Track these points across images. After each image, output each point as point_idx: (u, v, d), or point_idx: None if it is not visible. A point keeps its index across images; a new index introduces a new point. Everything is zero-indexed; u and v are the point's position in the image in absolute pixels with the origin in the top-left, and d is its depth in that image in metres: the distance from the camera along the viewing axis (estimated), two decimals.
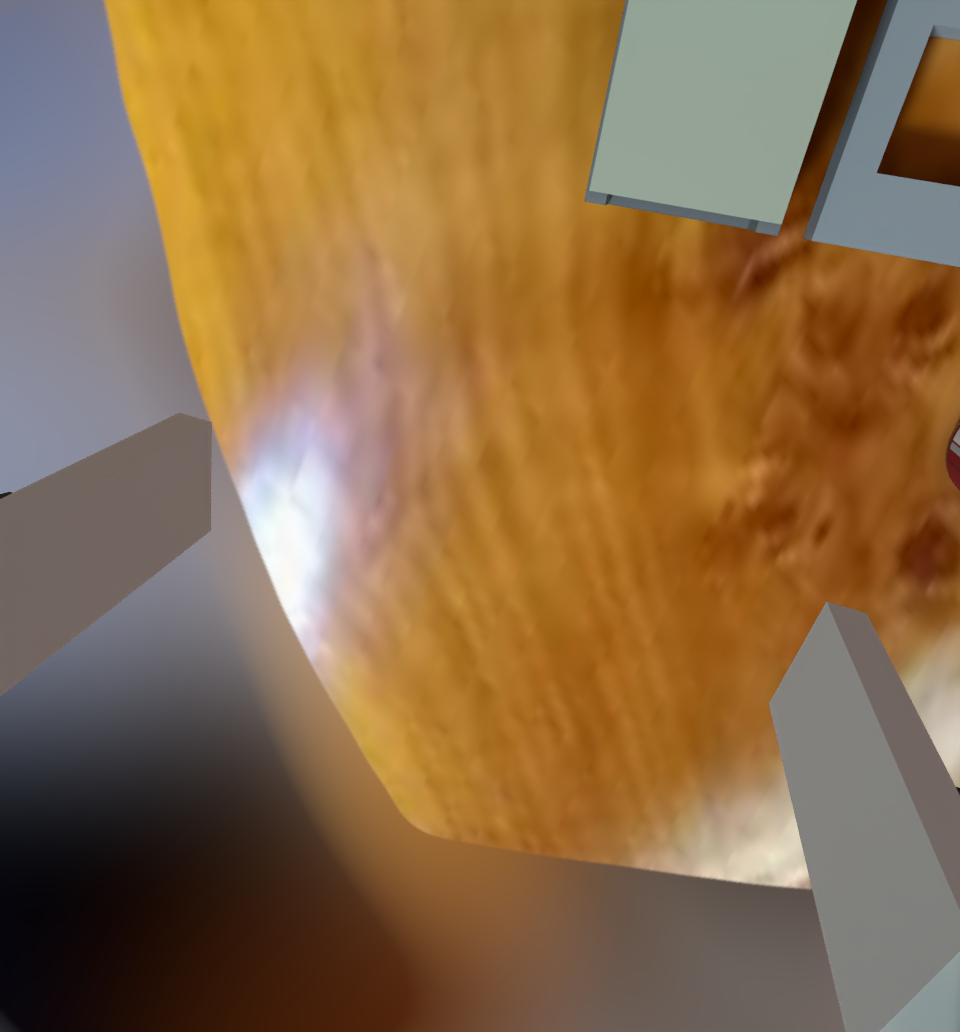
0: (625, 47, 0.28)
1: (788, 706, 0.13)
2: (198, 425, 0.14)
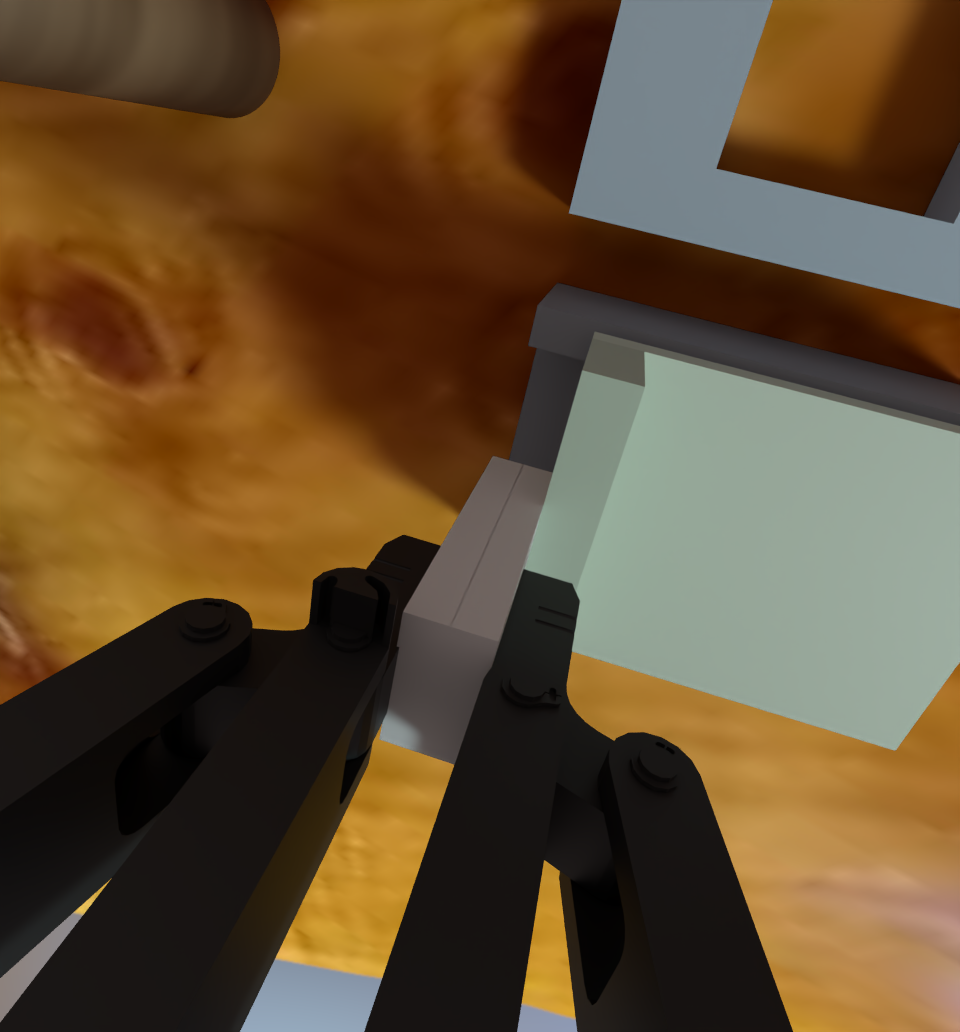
0: (700, 682, 0.18)
1: None
2: (517, 469, 0.15)
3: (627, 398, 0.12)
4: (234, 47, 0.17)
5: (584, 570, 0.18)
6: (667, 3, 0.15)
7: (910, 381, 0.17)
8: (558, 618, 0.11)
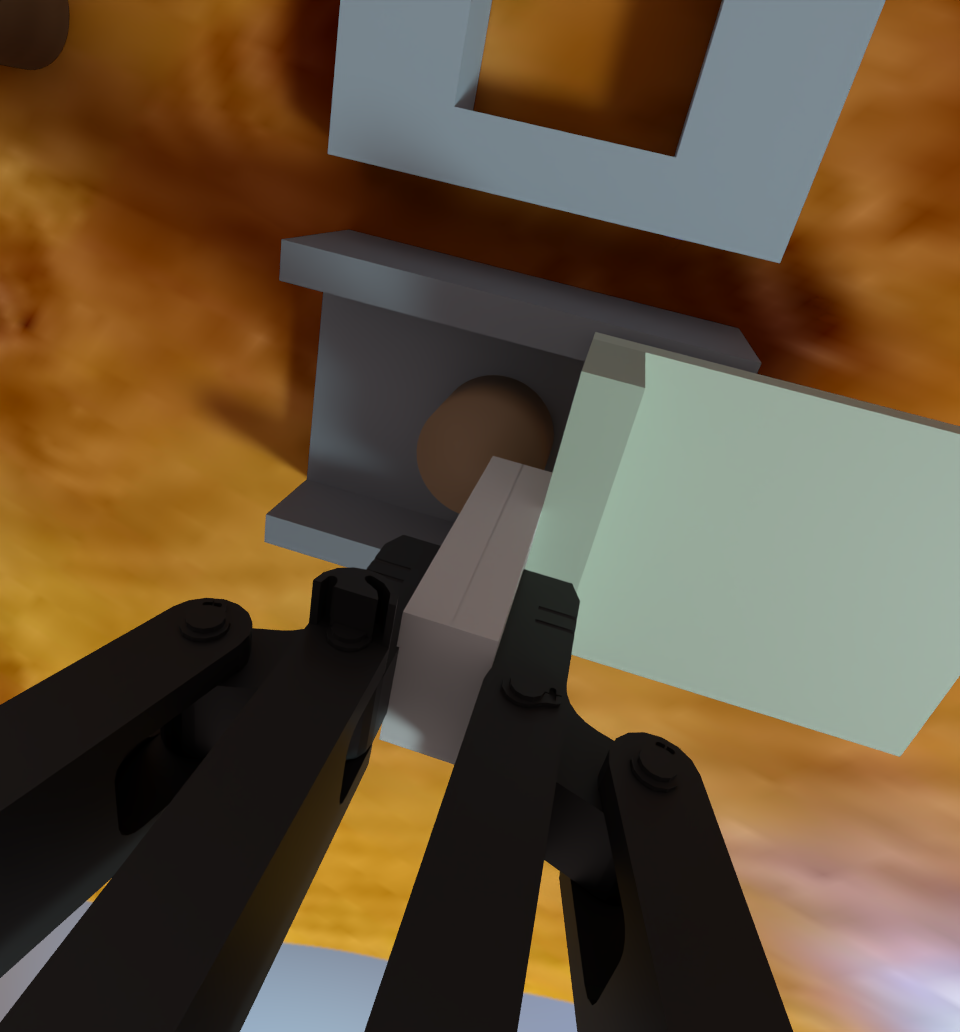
0: (702, 686, 0.18)
1: None
2: (517, 468, 0.15)
3: (627, 400, 0.12)
4: None
5: (585, 573, 0.18)
6: None
7: (665, 318, 0.18)
8: (559, 618, 0.11)
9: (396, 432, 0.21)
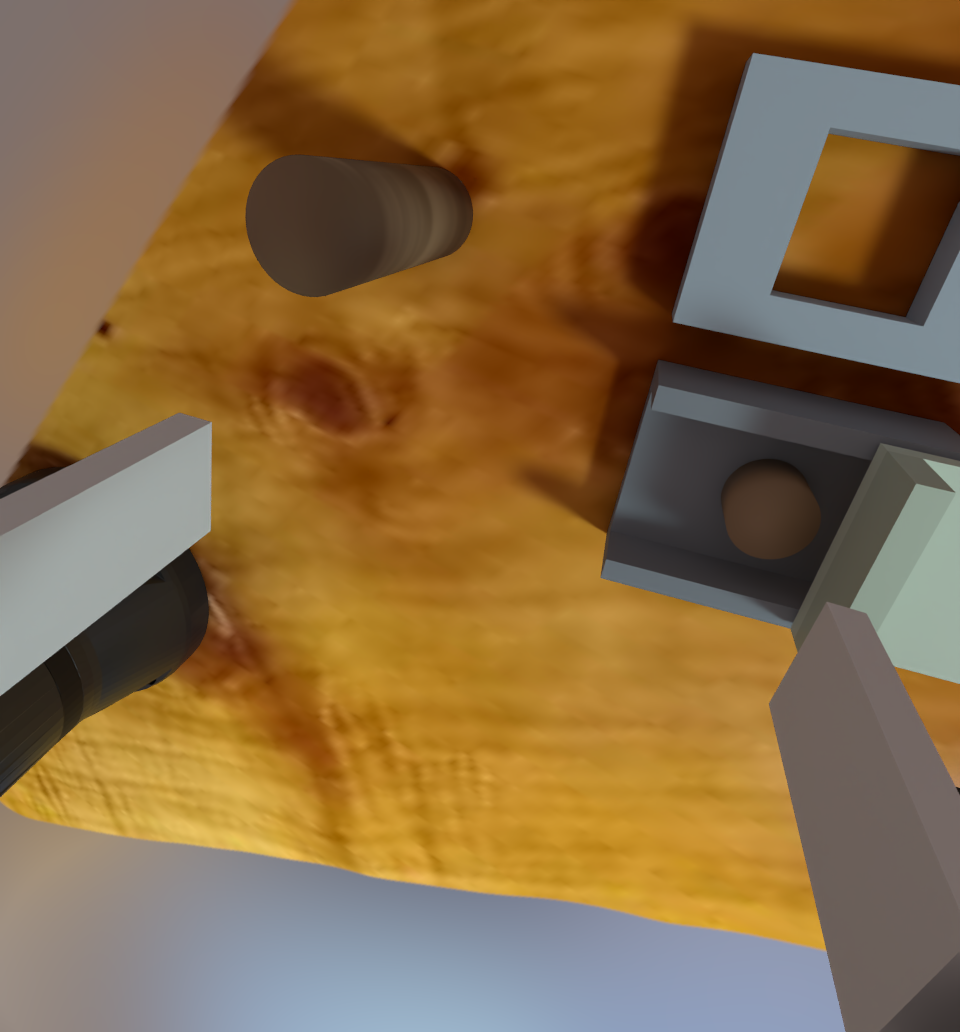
0: (936, 671, 0.27)
1: (787, 706, 0.13)
2: (198, 425, 0.14)
3: (943, 499, 0.21)
4: (457, 227, 0.27)
5: None
6: (738, 201, 0.24)
7: (902, 422, 0.27)
8: None
9: (687, 497, 0.30)
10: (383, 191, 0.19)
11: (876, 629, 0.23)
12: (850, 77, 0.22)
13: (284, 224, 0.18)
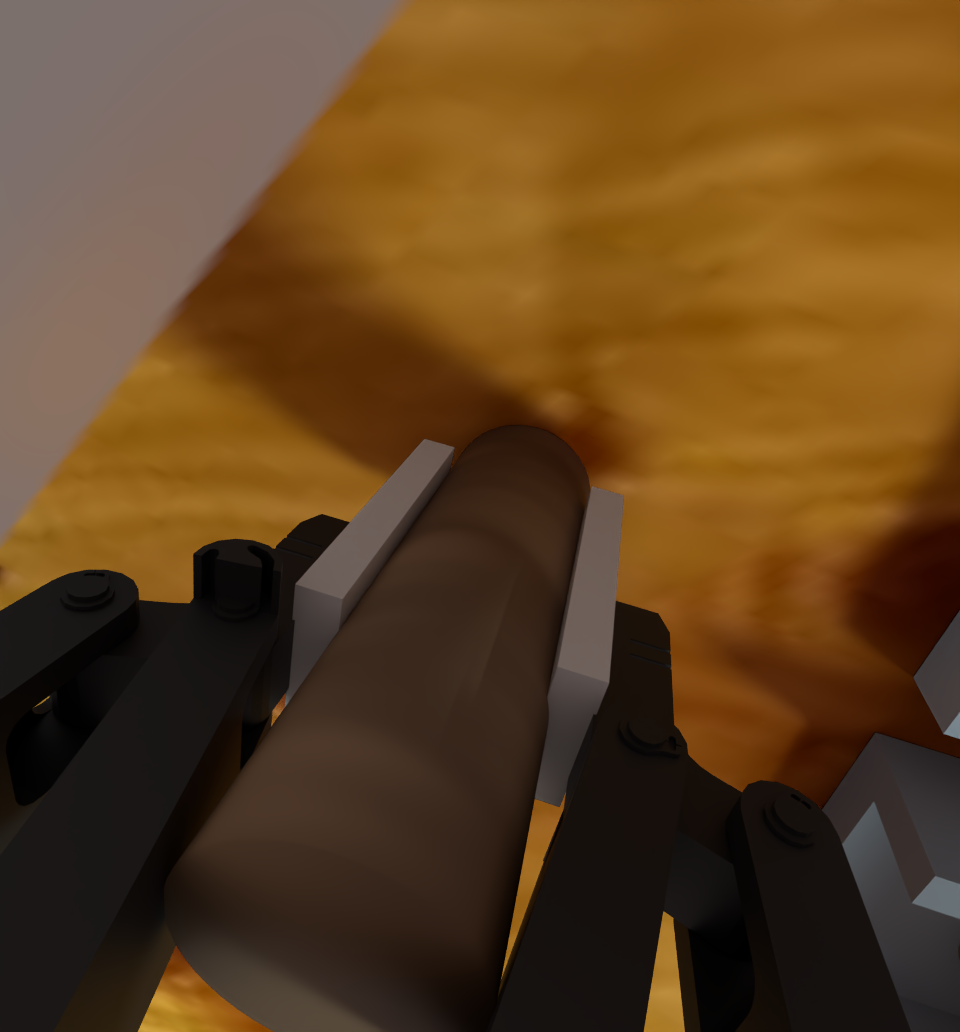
0: None
1: None
2: (447, 451, 0.15)
3: None
4: None
5: None
6: None
7: None
8: (652, 652, 0.11)
9: (901, 934, 0.19)
10: (513, 770, 0.08)
11: None
12: None
13: (266, 942, 0.07)
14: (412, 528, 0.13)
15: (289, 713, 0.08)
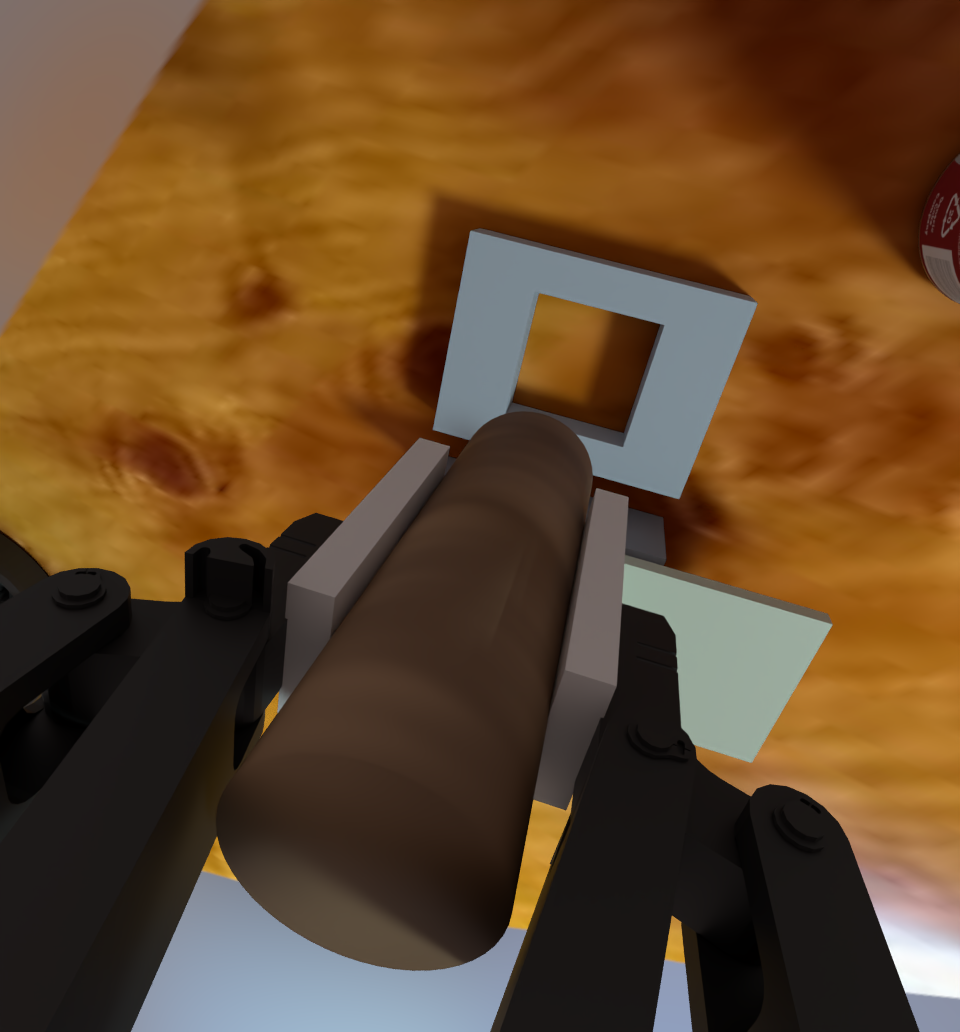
0: None
1: None
2: (442, 450, 0.15)
3: None
4: None
5: None
6: (472, 341, 0.30)
7: None
8: (659, 655, 0.11)
9: None
10: (526, 708, 0.09)
11: None
12: (544, 256, 0.27)
13: (307, 853, 0.08)
14: (427, 504, 0.13)
15: (323, 658, 0.09)
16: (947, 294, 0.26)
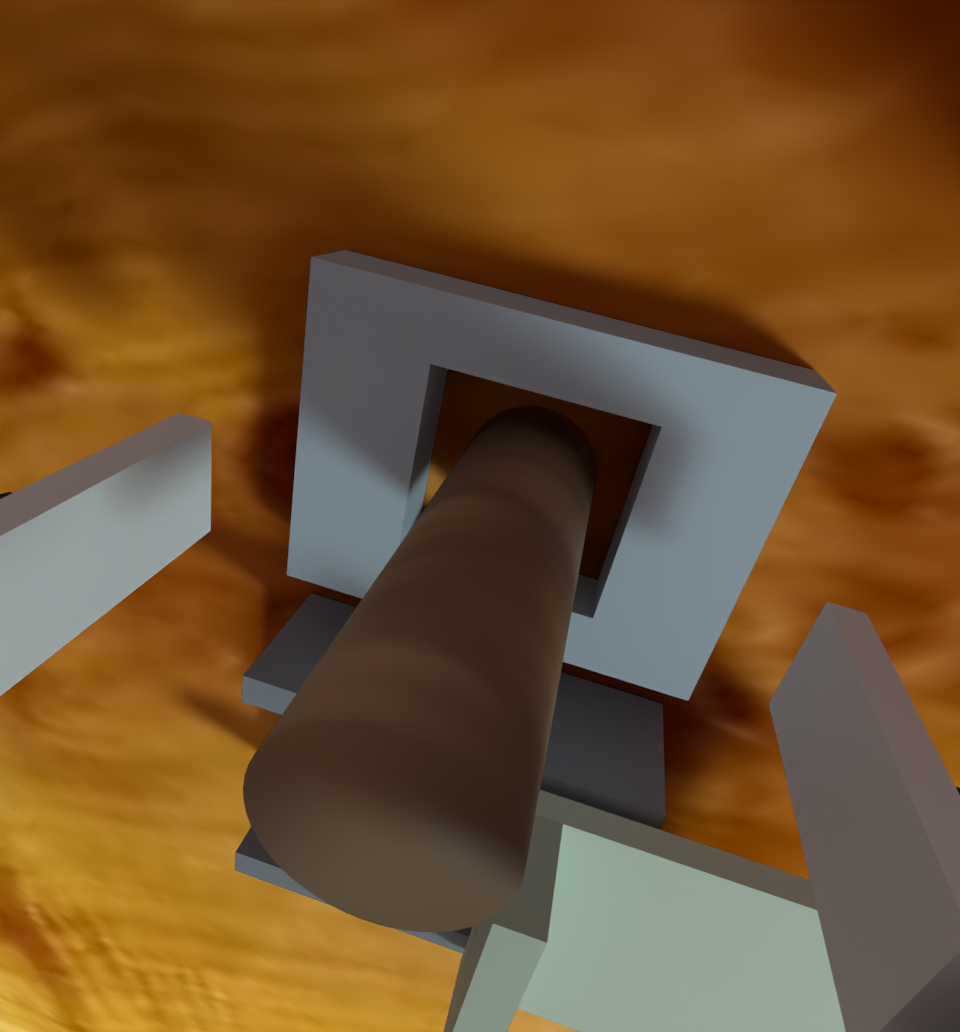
0: None
1: (788, 706, 0.13)
2: (198, 425, 0.14)
3: (532, 946, 0.14)
4: None
5: None
6: (333, 442, 0.17)
7: (592, 717, 0.20)
8: None
9: None
10: (536, 685, 0.09)
11: None
12: (443, 302, 0.15)
13: (331, 818, 0.08)
14: (437, 494, 0.14)
15: (343, 637, 0.09)
16: None
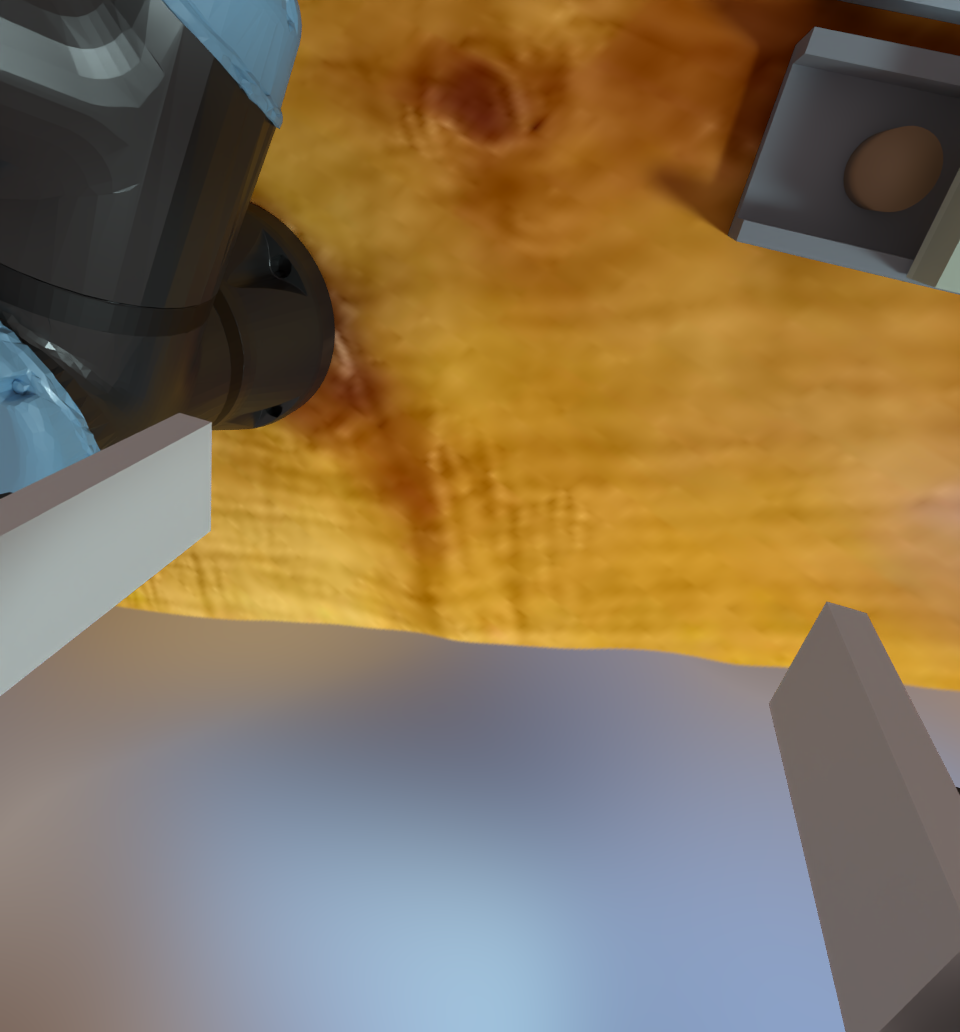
0: None
1: (788, 706, 0.13)
2: (198, 425, 0.14)
3: None
4: None
5: None
6: None
7: None
8: None
9: (812, 176, 0.34)
10: None
11: None
12: None
13: None
14: None
15: None
16: None
